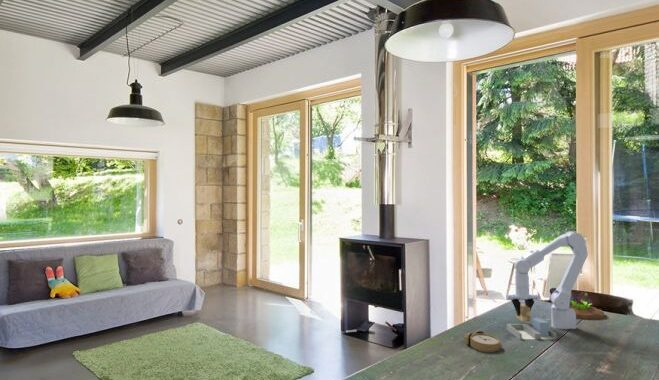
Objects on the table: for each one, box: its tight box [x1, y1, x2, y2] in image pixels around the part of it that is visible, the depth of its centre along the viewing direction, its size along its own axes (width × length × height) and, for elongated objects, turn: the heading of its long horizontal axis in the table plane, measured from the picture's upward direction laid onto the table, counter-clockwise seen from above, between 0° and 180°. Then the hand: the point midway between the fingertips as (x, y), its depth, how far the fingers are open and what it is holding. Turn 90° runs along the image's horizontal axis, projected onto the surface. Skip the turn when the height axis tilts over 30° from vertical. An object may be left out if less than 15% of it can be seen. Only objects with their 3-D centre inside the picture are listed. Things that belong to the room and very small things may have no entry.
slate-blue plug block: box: [531, 317, 550, 337], centre depth 183 cm, size 4×7×6 cm, turn 178°
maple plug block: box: [515, 303, 531, 322], centre depth 198 cm, size 4×7×6 cm, turn 178°
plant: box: [569, 291, 605, 320], centre depth 216 cm, size 20×20×11 cm
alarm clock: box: [463, 330, 504, 353], centre depth 173 cm, size 11×5×15 cm
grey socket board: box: [506, 323, 558, 340], centre depth 184 cm, size 15×14×3 cm
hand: (523, 315), depth 198 cm, fingers closed on maple plug block, 4 cm apart
